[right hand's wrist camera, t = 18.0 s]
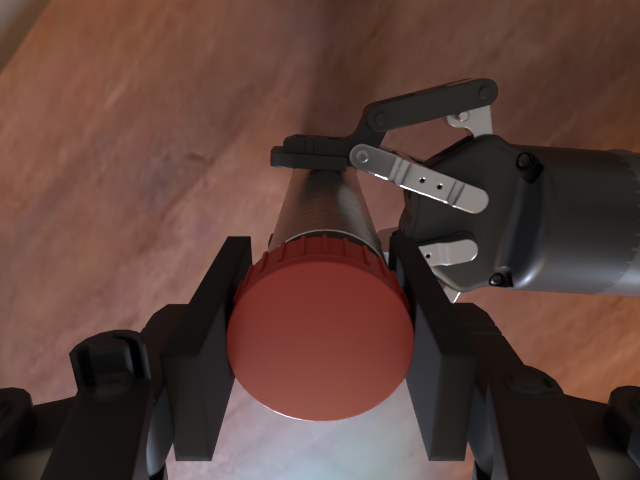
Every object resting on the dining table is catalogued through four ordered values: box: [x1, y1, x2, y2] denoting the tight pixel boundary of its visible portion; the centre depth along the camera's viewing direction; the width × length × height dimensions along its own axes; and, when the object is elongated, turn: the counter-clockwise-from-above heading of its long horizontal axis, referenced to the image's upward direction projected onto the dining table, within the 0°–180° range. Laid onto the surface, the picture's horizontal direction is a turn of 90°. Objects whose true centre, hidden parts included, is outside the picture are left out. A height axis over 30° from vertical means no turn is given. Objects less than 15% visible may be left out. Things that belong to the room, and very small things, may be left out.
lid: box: [226, 234, 414, 421], centre depth 11 cm, size 5×5×2 cm
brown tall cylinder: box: [268, 167, 388, 267], centre depth 20 cm, size 4×4×18 cm
